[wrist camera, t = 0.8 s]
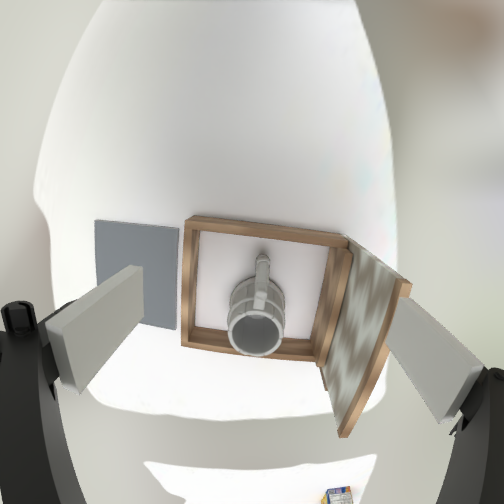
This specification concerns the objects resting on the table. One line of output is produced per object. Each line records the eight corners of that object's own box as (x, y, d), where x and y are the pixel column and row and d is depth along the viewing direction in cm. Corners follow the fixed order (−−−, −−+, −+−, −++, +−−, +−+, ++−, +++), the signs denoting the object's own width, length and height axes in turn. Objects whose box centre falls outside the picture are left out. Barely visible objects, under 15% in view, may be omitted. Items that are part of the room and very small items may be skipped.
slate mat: (96, 219, 38) (94, 220, 37) (179, 228, 38) (177, 229, 37) (101, 312, 42) (100, 313, 41) (176, 328, 42) (175, 330, 41)
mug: (229, 319, 41) (217, 369, 29) (235, 243, 38) (223, 271, 26) (279, 325, 41) (284, 375, 29) (291, 249, 38) (303, 280, 26)
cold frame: (193, 215, 37) (131, 250, 19) (346, 234, 37) (412, 284, 18) (188, 334, 42) (148, 421, 24) (319, 349, 42) (345, 441, 23)
